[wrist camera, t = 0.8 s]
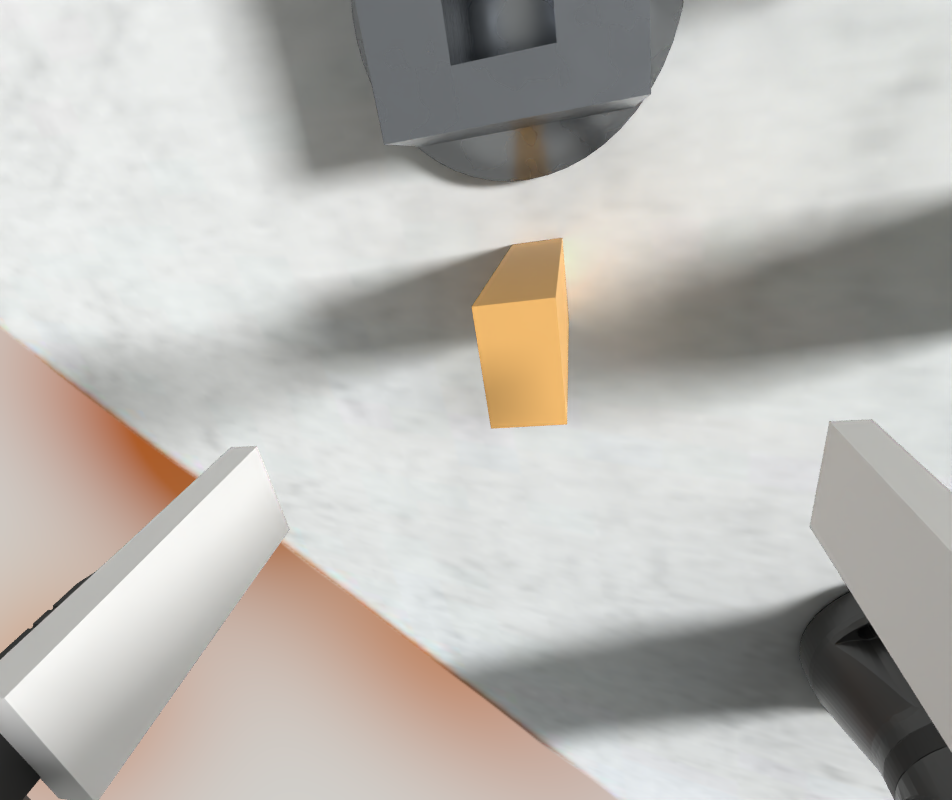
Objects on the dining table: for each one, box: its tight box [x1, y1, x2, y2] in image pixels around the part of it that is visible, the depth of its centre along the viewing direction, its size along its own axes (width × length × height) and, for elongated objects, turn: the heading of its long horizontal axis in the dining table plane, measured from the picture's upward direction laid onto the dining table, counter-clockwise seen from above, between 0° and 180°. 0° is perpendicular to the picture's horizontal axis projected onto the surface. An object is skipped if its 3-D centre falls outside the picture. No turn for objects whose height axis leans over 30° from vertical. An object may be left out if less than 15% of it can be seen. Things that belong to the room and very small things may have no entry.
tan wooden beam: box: [472, 238, 569, 428], centre depth 25 cm, size 5×3×14 cm, turn 9°
